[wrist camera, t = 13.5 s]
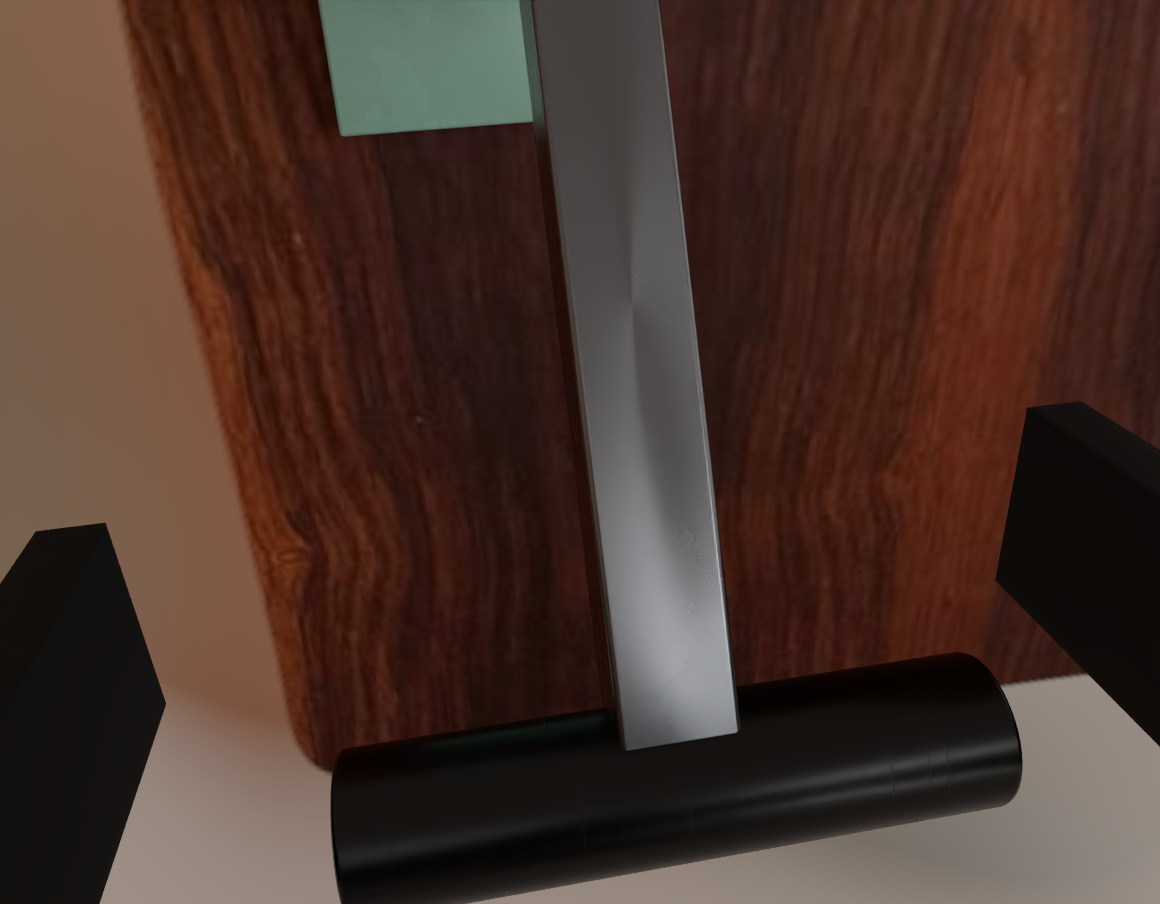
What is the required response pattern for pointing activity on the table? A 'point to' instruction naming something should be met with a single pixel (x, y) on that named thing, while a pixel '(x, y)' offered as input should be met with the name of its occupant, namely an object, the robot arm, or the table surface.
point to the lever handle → (650, 580)
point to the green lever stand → (425, 64)
